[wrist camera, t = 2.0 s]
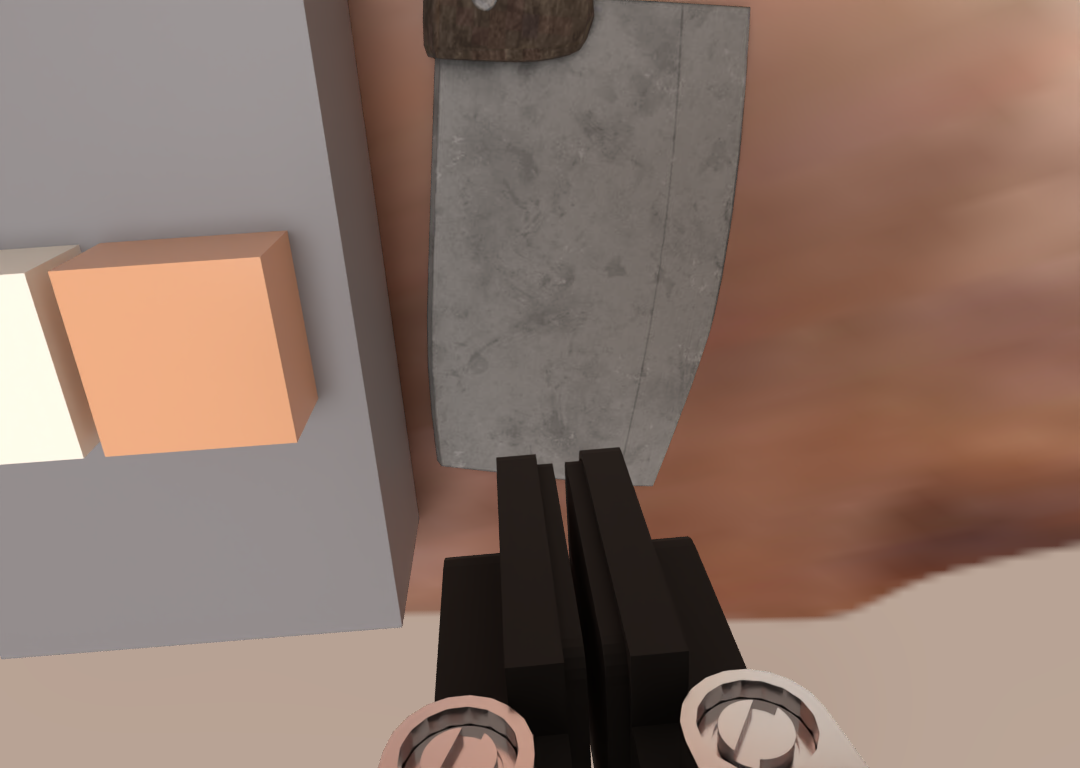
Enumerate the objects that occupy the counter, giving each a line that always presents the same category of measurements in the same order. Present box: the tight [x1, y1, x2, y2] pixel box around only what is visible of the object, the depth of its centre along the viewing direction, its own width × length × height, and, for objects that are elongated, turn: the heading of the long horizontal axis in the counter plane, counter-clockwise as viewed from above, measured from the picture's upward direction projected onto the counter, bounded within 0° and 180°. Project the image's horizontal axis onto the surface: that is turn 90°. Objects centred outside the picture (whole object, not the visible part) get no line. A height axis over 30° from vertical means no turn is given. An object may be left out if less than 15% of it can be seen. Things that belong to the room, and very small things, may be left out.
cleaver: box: [423, 0, 750, 486], centre depth 24 cm, size 29×10×2 cm, turn 177°
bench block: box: [0, 0, 419, 659], centre depth 23 cm, size 12×20×6 cm, turn 3°
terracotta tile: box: [48, 230, 318, 457], centre depth 19 cm, size 4×4×2 cm
